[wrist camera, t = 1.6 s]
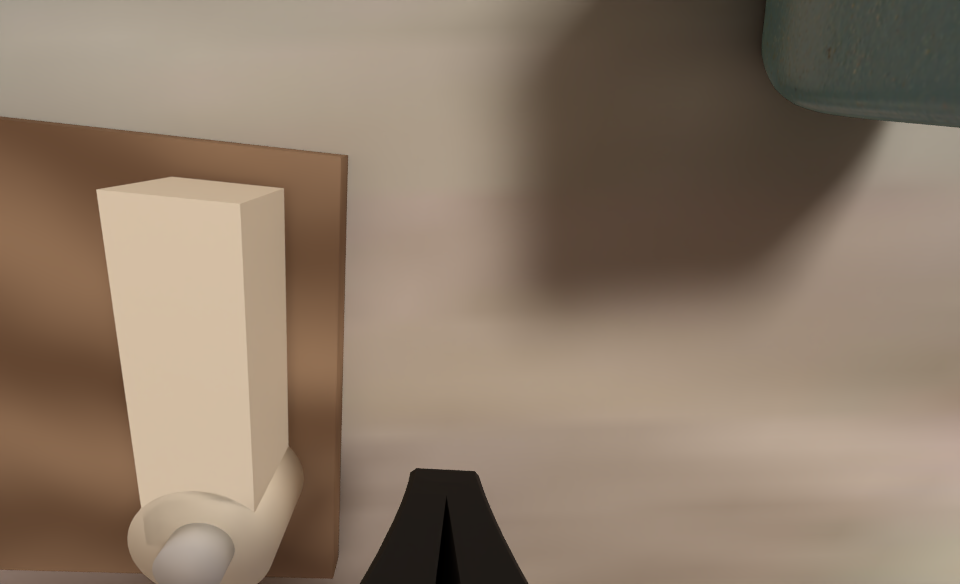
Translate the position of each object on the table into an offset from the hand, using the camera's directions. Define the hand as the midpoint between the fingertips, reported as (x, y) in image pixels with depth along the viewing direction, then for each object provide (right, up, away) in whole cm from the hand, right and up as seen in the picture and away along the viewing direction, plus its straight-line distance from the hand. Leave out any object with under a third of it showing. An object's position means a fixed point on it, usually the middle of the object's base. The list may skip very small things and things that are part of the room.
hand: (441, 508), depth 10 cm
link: (-7, +2, +5) cm, 9 cm away
